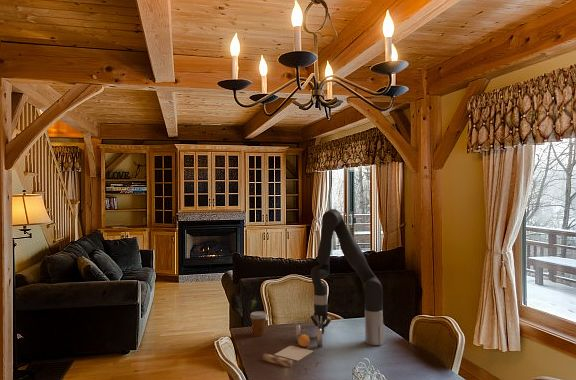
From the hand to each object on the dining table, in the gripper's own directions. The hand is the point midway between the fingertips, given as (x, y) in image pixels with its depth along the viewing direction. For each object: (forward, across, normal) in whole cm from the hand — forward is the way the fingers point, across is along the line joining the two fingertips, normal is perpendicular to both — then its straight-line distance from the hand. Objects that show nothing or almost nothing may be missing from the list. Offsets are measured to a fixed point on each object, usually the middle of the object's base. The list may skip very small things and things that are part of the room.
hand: (321, 334), depth 224 cm
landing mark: (+2, 0, -27) cm, 27 cm away
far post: (+2, -6, -13) cm, 15 cm away
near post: (+2, +6, -13) cm, 15 cm away
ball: (-2, -1, -17) cm, 17 cm away
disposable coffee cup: (+2, -32, -15) cm, 35 cm away
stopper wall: (+2, 0, -41) cm, 41 cm away
